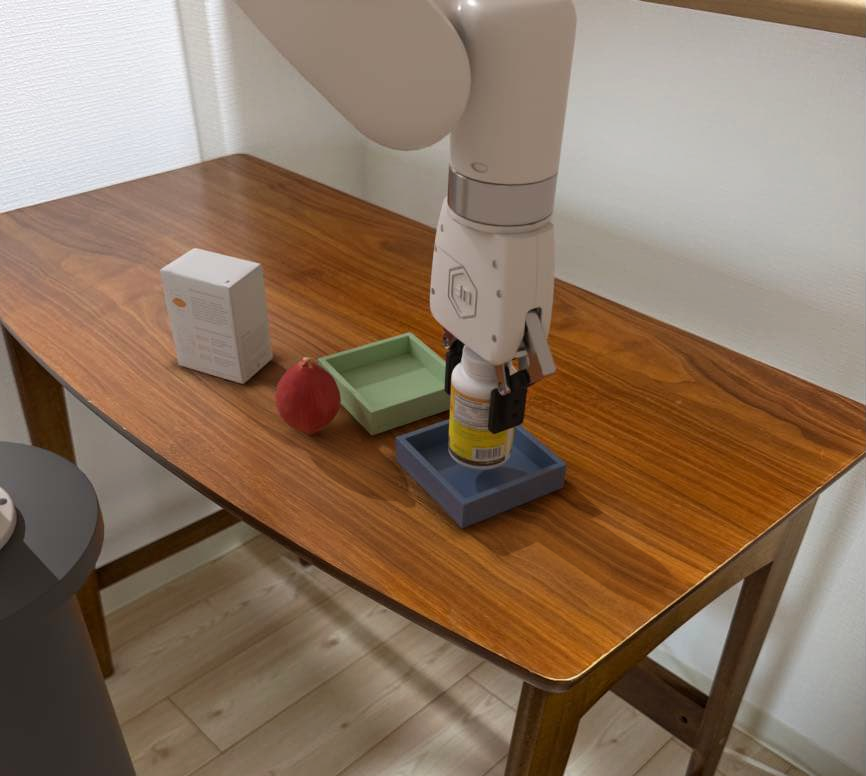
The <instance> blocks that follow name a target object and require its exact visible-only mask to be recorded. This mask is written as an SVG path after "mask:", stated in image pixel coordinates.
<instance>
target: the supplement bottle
mask: <svg viewBox="0 0 866 776" xmlns="http://www.w3.org/2000/svg"><path fill="white" fill-rule="evenodd" d="M508 363H509V371H510V375H512V374H514V373H516V372H517V371H518V370H517V368H516V367H515V366H514V365H513V360H512V361H509V362H508ZM495 388H497V382H496V374H495V366H494V365H493V364H491V363H489V362H487V361H486V360H484V359H483V358H482V357H480V356H479V355H478V354H477V353H475V352H474V351H473V350H471V349H470V348H469V347H468V346H466V345H465V346H464V348H463V354H462V359H461V362H460V363H459V364H458V365H457V366H456V367H455V368H454V370H453V372H452V378H451V398H450V409H449V419H450V421H449V441H448V448H449V453H450V455H451V457H452V458H453V459H454V460H455V461H456V462H457V463H459V464H460V465H462V466H464V467H467V468H470V469H475V470H489V469H494V468H497V467H499V466H501V465H503V464H504V463H505V462H506V461H507V460H508V459H509V457H510V455H511V452H512V445H513V435H514V427H513V428H510V429H508V430H505V431H502V432H499V433H497V434H492V433H491V432H490V431H489V430H488V420H489V409H490V398H491V390H493V389H495Z"/></svg>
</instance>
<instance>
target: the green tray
mask: <svg viewBox="0 0 866 776" xmlns="http://www.w3.org/2000/svg"><path fill="white" fill-rule="evenodd" d="M317 365H319V366H321V367H323V368H324V369H325V370H326V371H328V372H329V373H330V374H331V375H332V377H333V378H334V379H335V381H336V384H337V386H338V389H339V391H340V397H341V402H340V405H341V406H342V407H343V408H344V409H345V410H346V411H347V412H348V413H349V414H350V415H351V416H352V417H353V418H354V419H355V420H356V421H357V422H358V423H359V424H360V425H361V426H362V427H363V429H365V430H366V431H367V432H368V433H369V434H370V436H375V435H379V434H380V433H384V432H387V431H390V430H393V429H396V428H399V427H402V426H405V425H409V424H410V423H413V422H416V421H420V420H423V419H425V418H429V417H431V416H434V415H437V414H440V413H443V412H447V411H450V398H451V395H448V394H447V393H446V392H445V391H444V387H445V367H446V360H445V359H443V358H442V357H441V356H440V355H438V353H436V352H435V351H434V350H432V349H431V348H430V347H429V346H428V345H426V344H425V342H423V341H422V340H420V338H418V337H417V336H416V335H415V334H414V333H412V331H409V332H406V333H401V334H399V335H395V336H392V337H391V336H390V337H388V338H384V339H381V340H377V341H373V342H370V343H367V344H364V345H360V346H356V347H354V348H351V349H350V348H349V349H346V350H343V351H340V352H339V351H338V352H336V353H332V354H329V355H325V356H323V357H318V358H317Z"/></svg>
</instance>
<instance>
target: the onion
mask: <svg viewBox="0 0 866 776" xmlns="http://www.w3.org/2000/svg"><path fill="white" fill-rule="evenodd" d="M274 402H275V406H276V409H277V412H278V413H279V416H280V418H281V419H282V420H283V421H284V422H285V423H286V424H287V425H288V426H289V427H290V428H292V429H295V430H296V431H300V432H303V433H304V434H305V435H314V434H317V433H318V432H319V431H320V430H323V429H324V428H325V427H326V426H328V425H329V424H331V422H332V421H334V419H335V417H336V416H337V415H338V412H339V410H340V407H341V403H340V402H341V397H340V391H339V389H338V386H337V384H336V381H335V379H334V378H333V377H332V375H331V374H330V373H329V372H328V371H326V370H325V369H324V368H323V367H321V366H319V365H318V363H315V362H313V360H312V358H311V357H307V356H304V357H302V359H301V360H300V361H298V363H295V364H293V365H292V366H290V367H289V368H288V369H287V371H285V373H284V374H283V376H281V378H280V380H279V381H278V383H277V386H276V390H275V394H274Z"/></svg>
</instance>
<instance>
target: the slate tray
mask: <svg viewBox="0 0 866 776" xmlns="http://www.w3.org/2000/svg"><path fill="white" fill-rule="evenodd" d="M449 421H450V418H448V419H445V420H442V421H438V422H436V423H433V424H430V425H428V426H427V425H426V426H424V427H422V428H418V429H416V430H412V431H410V432H407V433H404V434H402V435H397V436H395V462H397V464H399V466H400V467H401V468H402V469H403V470H404V471H405V472H406V473H407V474H408V475H409V476H410V477H411V478H413V480H414V481H415V482H416V483H417V484H418V485H419V486H420V487H421V488H422V489H423V491H425V493H426V494H427V495H428V496H429V497H430V498H431V499H432V500H433V501H434V502H435V503H436V504H437V505H438V506H439V507H440V508H441V509H442V510H443V511H444V512H445V513H446V514H447V515H448V516H449V517H450V518H451V520H453V522H455V523H456V525H458V526H459V528H461V529H465V528H467V527H469V526H473V525H475V524H477V523H479V522H482V521H484V520H488V519H489V518H492V517H494V516H497V515H499V514H502V513H505V512H507V511H509V510H511V509H514V508H516V507H519V506H522V505H524V504H527V503H529V502H532V501H535V500H536V499H539V498H542V497H544V496H546V495H549V494H551V493H554V492H556V491H559V490H561V489H563V488H564V487H565V486H564V485H565V479H566V474H567V466H568V464H567V463H566V462H565V461H564V460H563V459H561V458H560V457H559V456H558V455H556V453H554V452H553V451H552V450H551V449H550V448H548V446H546V445H545V444H543V442H541V441H540V440H539V439H538V438H536V437H535V435H533V433H531V432H530V431H528V430H527V429H526V428H525V427H524V426H522V424H521V425H519V426H516V427H514V435H513V445H512V452H511V455H510V457H509V459H508V460H507V461H506V462H505V463H504V464H503V465H501V466H499V467H497V468H494V469H489V470H475V469H470V468H467V467H464V466H462V465H460V464H459V463H457V462H456V461H455V460H454V459H453V458H452V457H451V455H450V453H449V448H448V441H449Z"/></svg>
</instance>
